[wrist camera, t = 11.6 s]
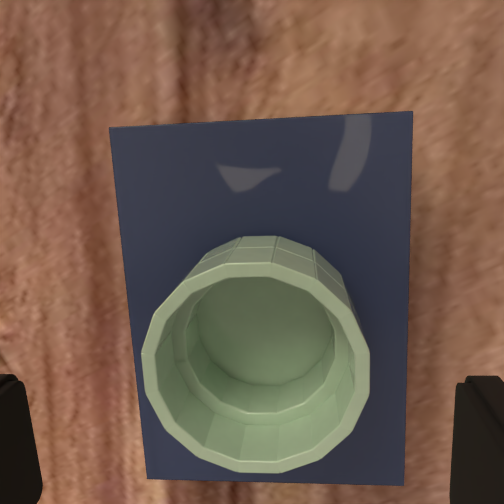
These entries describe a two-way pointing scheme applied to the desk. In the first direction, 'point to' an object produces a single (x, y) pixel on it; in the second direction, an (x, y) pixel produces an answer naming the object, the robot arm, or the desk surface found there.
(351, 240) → the book
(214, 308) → the bowl
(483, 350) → the desk surface
